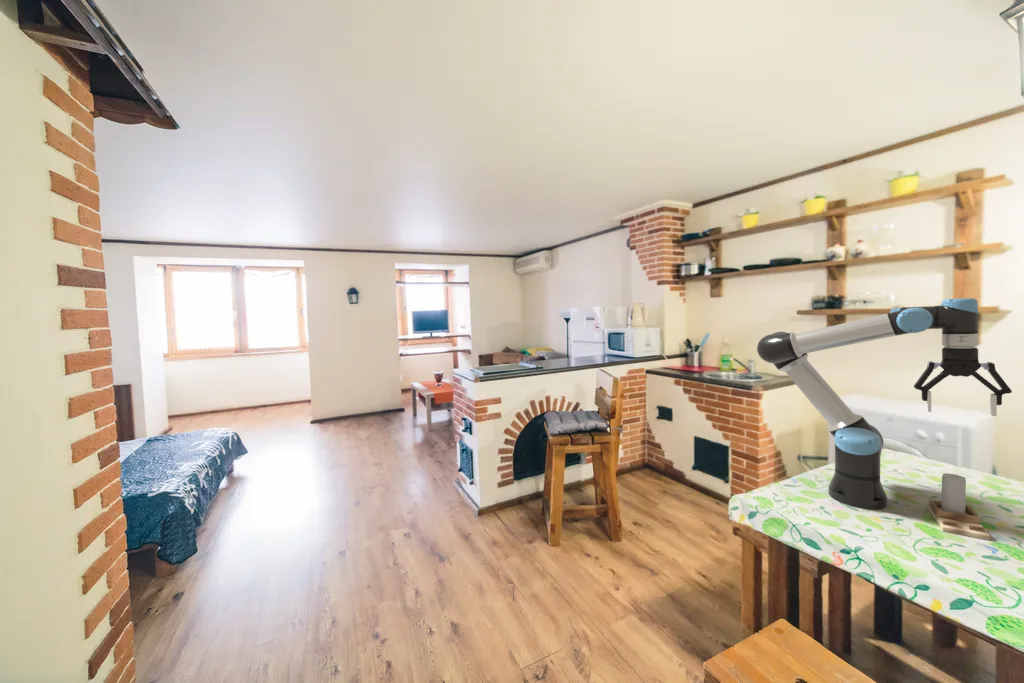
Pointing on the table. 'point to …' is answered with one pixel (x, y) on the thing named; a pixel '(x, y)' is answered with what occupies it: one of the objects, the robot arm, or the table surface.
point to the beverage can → (953, 493)
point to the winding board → (958, 521)
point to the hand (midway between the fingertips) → (959, 413)
